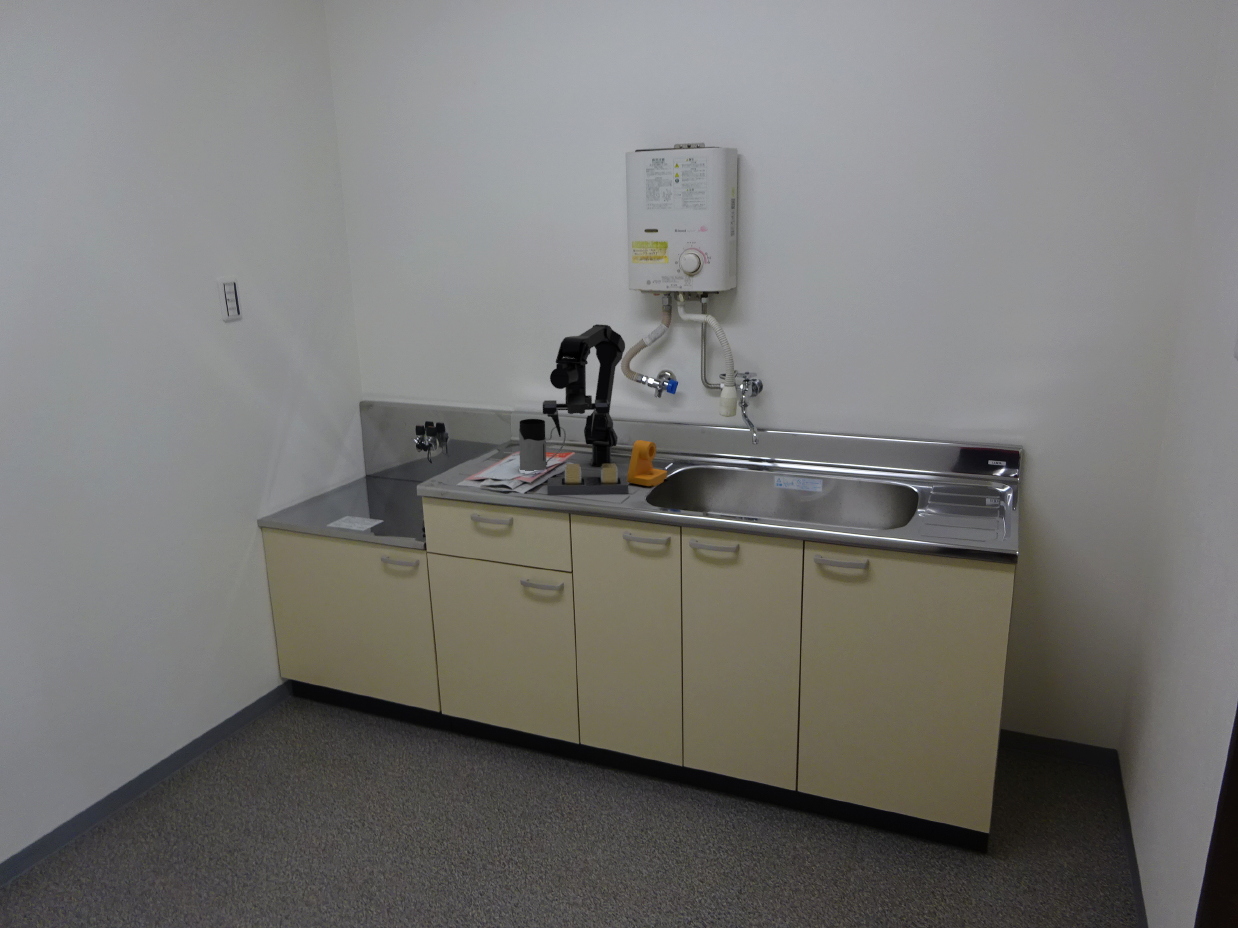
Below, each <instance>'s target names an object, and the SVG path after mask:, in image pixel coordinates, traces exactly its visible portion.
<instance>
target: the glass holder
mask: <svg viewBox="0 0 1238 928" xmlns="http://www.w3.org/2000/svg"><path fill="white" fill-rule="evenodd" d="M555 429H557V428H556V425H555V426H554V427H552V429H551V431H550V435H549V436H550V437H549V438H547V437H546V421H545V420H544V419H542V418H541V419H539V418H525V419H521V420H520V421H519V429H518V432H519V433H518V436H519V439H518V440H519V443H518V444H519V468H520V470H525V471H534V470H544V469H546V468H547V469H548V467H547V466H548V462H549V461H550V460H552V459H553V458H555V456H557V455H558V453H560V452H561V451H562V449H563V448H564V444H565V442H566V430H565V428H564V427H562V426H560V429H561V430H562V431H563V435H564V436H563V442H562V443H561V446H560V449H559V450H558V451H557V452H555V453H554V454H553V455H551V456H550V457H549V458H548V459H547V441H551V439H552V437H553V436H552V435H553V431H554V430H555Z"/></svg>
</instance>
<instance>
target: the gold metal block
mask: <svg viewBox="0 0 1238 928" xmlns="http://www.w3.org/2000/svg"><path fill="white" fill-rule="evenodd" d="M581 477H582V467H581V466H580V463H566V465H565V466H564V478H565V485H581Z"/></svg>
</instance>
